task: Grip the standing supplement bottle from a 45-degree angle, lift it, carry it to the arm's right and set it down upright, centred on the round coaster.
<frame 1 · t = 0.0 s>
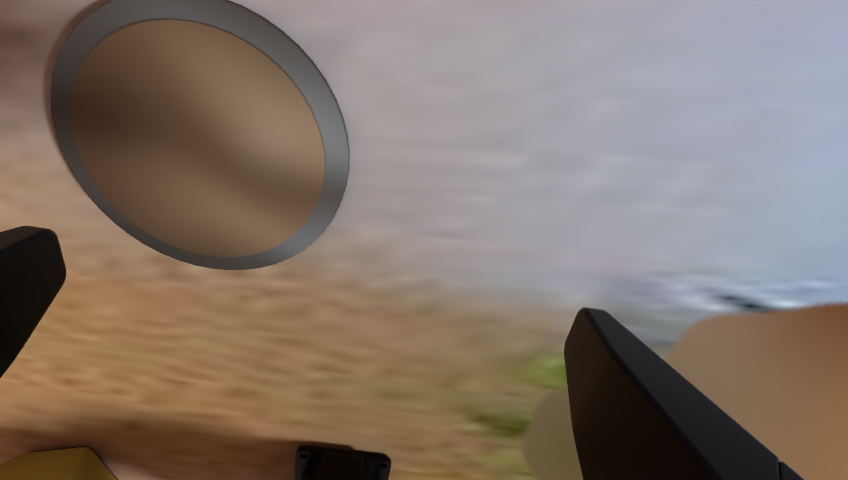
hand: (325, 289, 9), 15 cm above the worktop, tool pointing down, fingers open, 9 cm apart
flower pot: (80, 466, 36), on the worktop
coaster: (208, 146, 23), on the worktop
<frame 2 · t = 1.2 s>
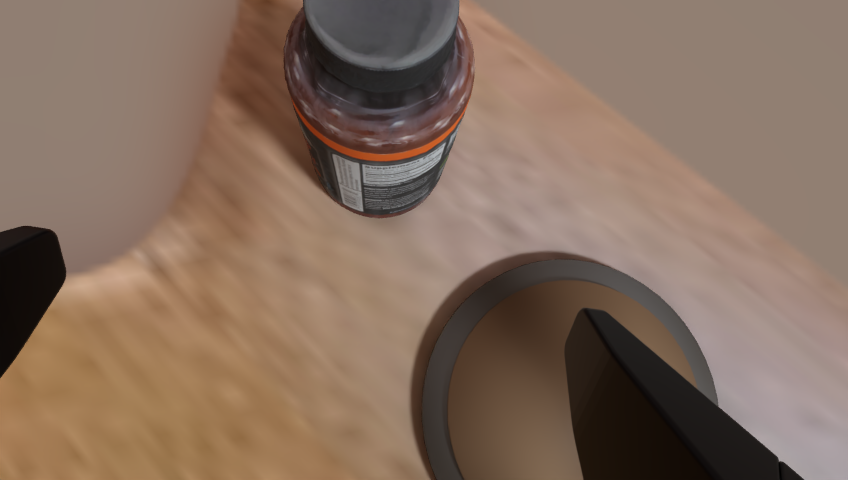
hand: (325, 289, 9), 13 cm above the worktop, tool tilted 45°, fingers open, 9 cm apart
supplement bottle: (378, 163, 24), on the worktop
coaster: (569, 408, 22), on the worktop
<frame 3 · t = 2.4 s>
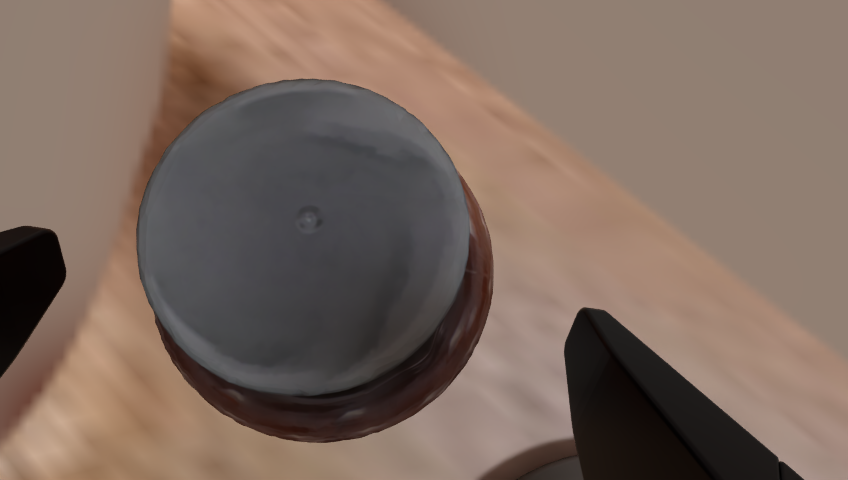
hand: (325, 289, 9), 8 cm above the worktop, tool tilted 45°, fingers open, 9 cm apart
supplement bottle: (351, 309, 17), on the worktop
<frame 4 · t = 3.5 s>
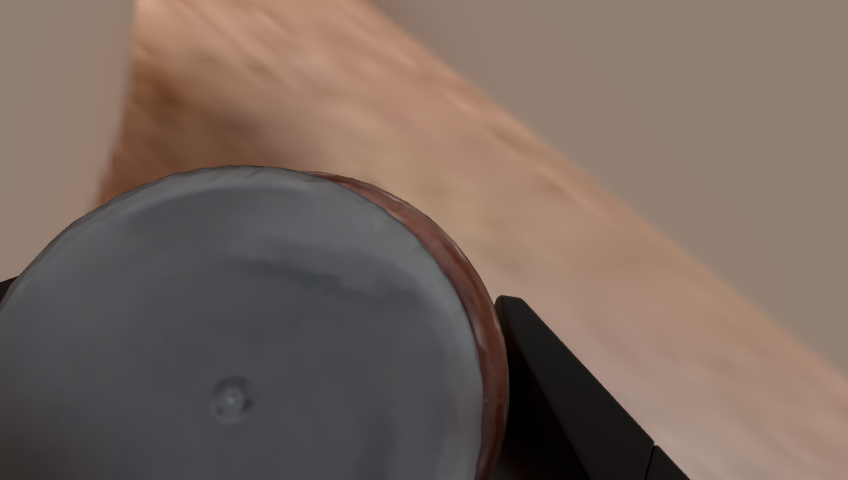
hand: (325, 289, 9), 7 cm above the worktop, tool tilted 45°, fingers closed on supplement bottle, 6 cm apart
supplement bottle: (338, 364, 15), on the worktop, touching gripper
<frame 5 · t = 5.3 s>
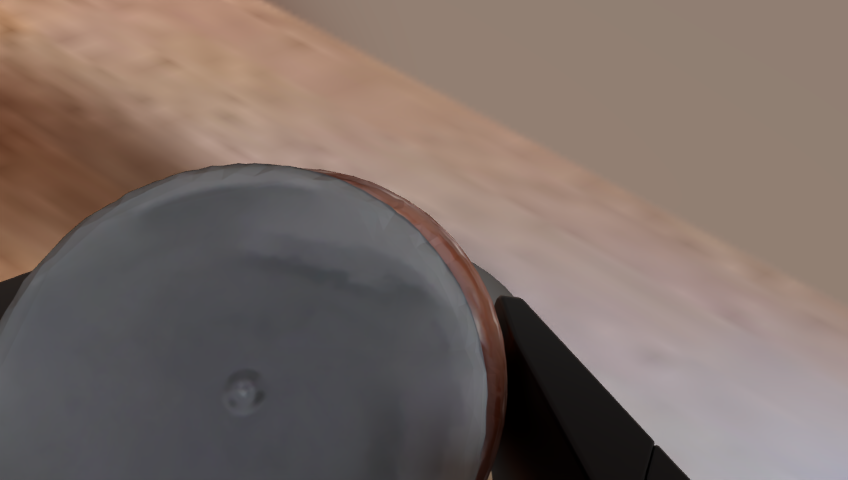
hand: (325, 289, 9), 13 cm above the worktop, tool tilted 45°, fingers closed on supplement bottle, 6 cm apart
supplement bottle: (333, 360, 15), point 6 cm above the worktop, touching gripper
coaster: (398, 397, 21), on the worktop
when the fingers open (8 cm above the worktop, at t = 7.0 s): supplement bottle stays where it is, resting on coaster.
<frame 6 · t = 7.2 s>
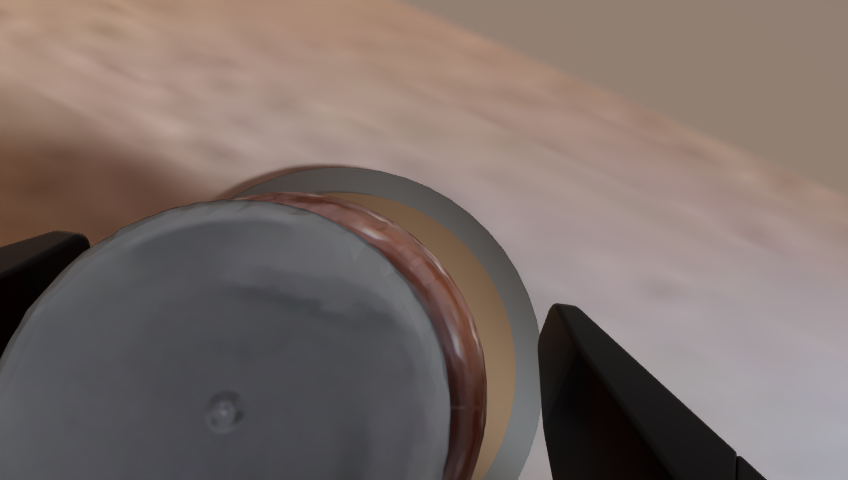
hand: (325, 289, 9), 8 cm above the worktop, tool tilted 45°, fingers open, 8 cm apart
supplement bottle: (333, 368, 15), point 1 cm above the worktop, touching coaster
coaster: (342, 363, 16), on the worktop
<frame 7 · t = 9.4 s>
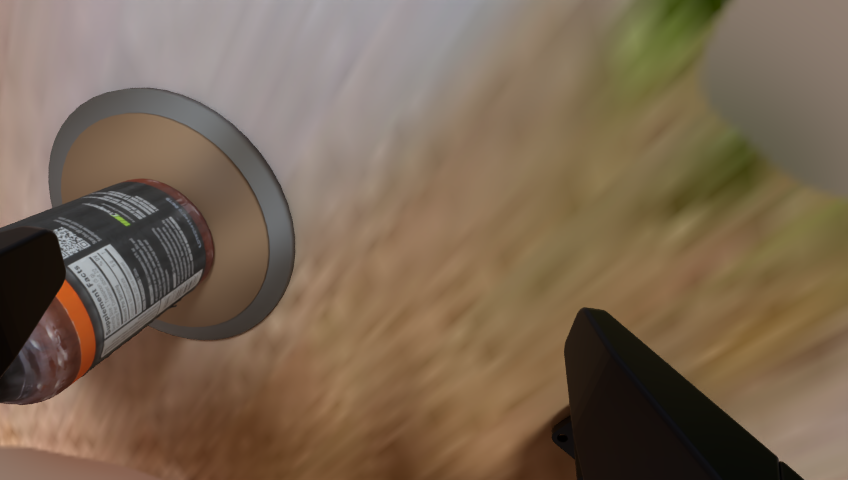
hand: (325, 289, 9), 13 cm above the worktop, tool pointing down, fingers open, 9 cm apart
supplement bottle: (167, 232, 24), point 1 cm above the worktop, touching coaster
coaster: (173, 222, 25), on the worktop
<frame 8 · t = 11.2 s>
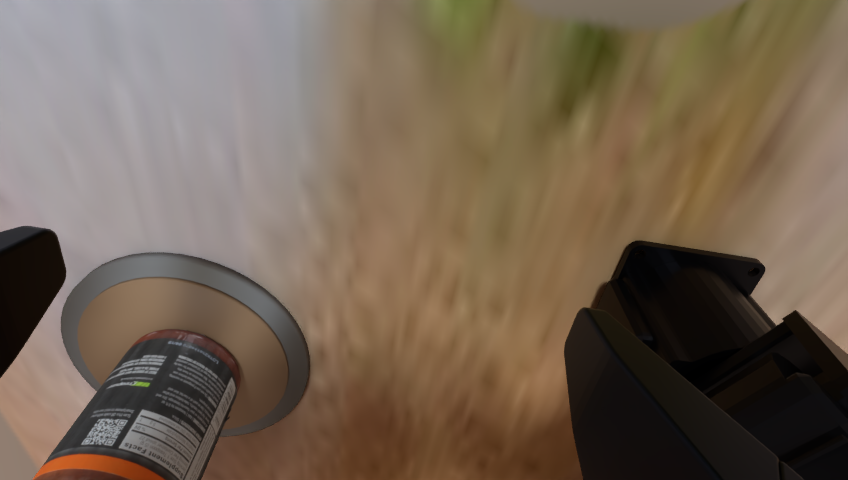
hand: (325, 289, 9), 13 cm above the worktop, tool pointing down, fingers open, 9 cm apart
supplement bottle: (191, 362, 27), point 1 cm above the worktop, touching coaster
coaster: (191, 351, 27), on the worktop
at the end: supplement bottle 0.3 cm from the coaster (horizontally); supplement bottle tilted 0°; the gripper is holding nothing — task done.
